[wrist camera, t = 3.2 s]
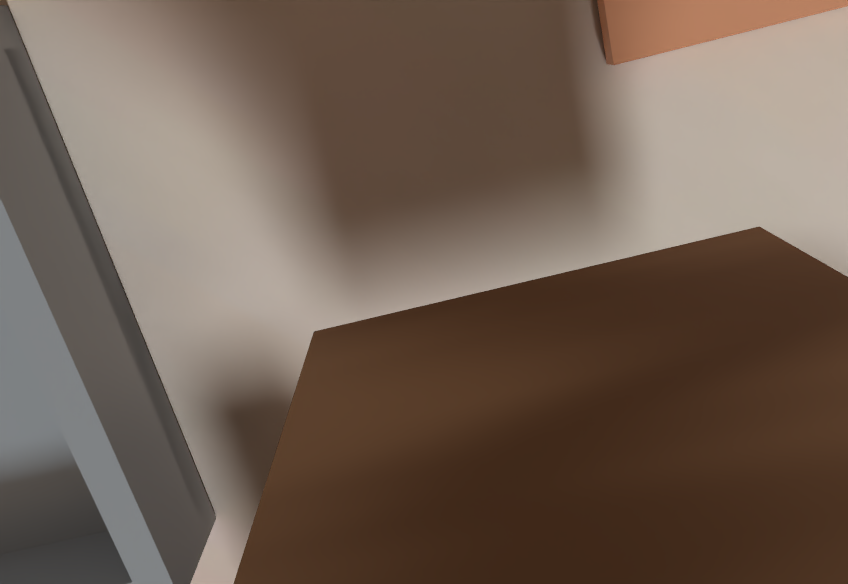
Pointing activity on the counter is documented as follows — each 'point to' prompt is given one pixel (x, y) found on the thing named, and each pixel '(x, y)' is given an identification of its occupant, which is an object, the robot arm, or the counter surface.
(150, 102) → the counter surface
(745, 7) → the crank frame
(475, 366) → the block
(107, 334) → the tray
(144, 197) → the counter surface
